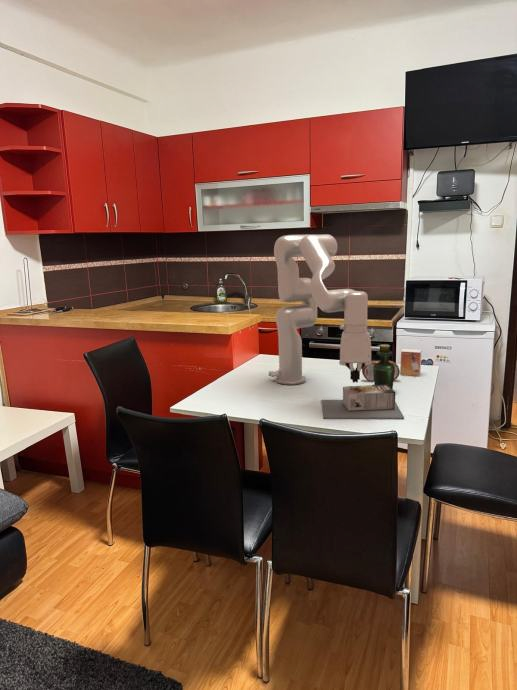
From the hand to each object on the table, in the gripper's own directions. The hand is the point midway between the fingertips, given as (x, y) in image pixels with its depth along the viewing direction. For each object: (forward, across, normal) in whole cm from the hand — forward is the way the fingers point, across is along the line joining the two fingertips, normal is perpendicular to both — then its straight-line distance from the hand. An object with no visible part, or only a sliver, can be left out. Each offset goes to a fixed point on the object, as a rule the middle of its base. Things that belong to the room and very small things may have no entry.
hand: (355, 381), depth 167 cm
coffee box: (+6, -3, +1) cm, 7 cm away
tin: (+10, +14, +35) cm, 39 cm away
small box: (+10, +28, +45) cm, 54 cm away
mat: (+10, +2, 0) cm, 10 cm away
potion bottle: (+10, +13, +21) cm, 27 cm away
